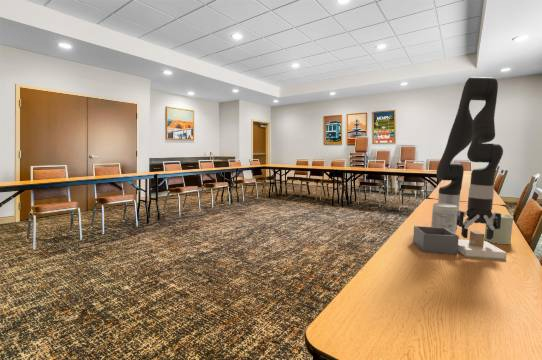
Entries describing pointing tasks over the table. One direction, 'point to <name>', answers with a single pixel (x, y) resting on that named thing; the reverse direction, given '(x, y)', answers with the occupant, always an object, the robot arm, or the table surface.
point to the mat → (484, 257)
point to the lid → (479, 247)
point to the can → (502, 230)
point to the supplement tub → (444, 216)
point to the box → (435, 240)
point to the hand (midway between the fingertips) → (476, 238)
